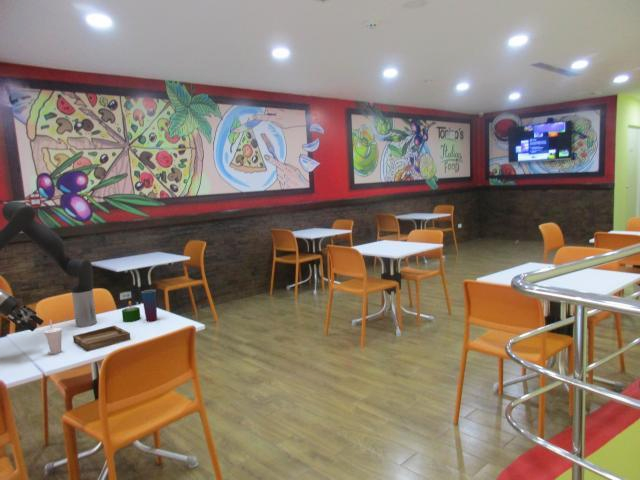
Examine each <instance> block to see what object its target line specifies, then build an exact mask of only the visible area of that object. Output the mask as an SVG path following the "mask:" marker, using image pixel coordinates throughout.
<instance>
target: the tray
mask: <svg viewBox="0 0 640 480" xmlns="http://www.w3.org/2000/svg"><path fill="white" fill-rule="evenodd" d="M72 338H73V339H72V340H73V343H74V344H76V345H77V346H78V347H80V348H81V349H83V350H84V351H86V352H91V351H94V350H98V349H102V348H104V347H108V346H112V345H115V344H119V343H123V342H126V341H129V340H132V339H131V332H129V331H127V330H125V329H122V328H121V327H120V326H117V325H112V326H111V325H110V326H106V327H103V328H98V329H95V330H90V331H87V332H83V333H79V334H74V335H72Z"/></svg>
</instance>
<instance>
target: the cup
mask: <svg viewBox="0 0 640 480" xmlns="http://www.w3.org/2000/svg"><path fill="white" fill-rule="evenodd" d="M141 298H142V303H143V310H144V315H145V321H146V322H147V323H151V322H156V321H157V320H158V312H157V311H158V310H157V309H158V308H157V290H156V289H145V290H143V291H141Z"/></svg>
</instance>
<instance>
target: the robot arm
mask: <svg viewBox="0 0 640 480" xmlns="http://www.w3.org/2000/svg"><path fill="white" fill-rule="evenodd" d="M1 215H2V217H3V218H4V220H6V221H7V223H6V225H5V226H4V227H2V228H1V229H0V252H1V251H2V250H3V249H4V248H5V247H6V246H7V245H8V244H10V242H11V241H12V240H13V239H15V237H17V236H19V234H20V233H21V232H22V233H23V234H25V236H26V237H27V238H28V239H29V240H30V241H31V242H32V243H34V244H35V246H37V247H38V248H39V249H40V250H41V251H42V252H43V253H44V254H45V255H47V256H48V257H49V258H50V259H51V260H52V261H53V262H55V263H56V264H57V266H59V268H60V269H61V270H62V271H63V272H64V273H65V274H66V275H67V277H70V278H75V279H77V278H78V282H77V283H76V284H74V285H71V297H72V304H73V311H74V319H75V326H76V327H77V328H85V327H90V326H93V325H95V324H97V314H96V308H95V307H96V305H95V299H94V298H95V297H94V292H93V289H94V288H93V286H94V274H93V273H94V270H93V265H92V262H91V261H90V259H87V258H74V257H72V256H70V255H69V254H68V253H67V252H66V244H65V242H64V240H63V239H62V238H61V237H60V236H59V235H58V234H57V233H56V232H54V230H52V229H51V228H50V227H47V226H46V225H44V224H42V223H41V222H39V221H38V220H36V218H35V217H36V211H35V209H34V207H33V206H31V205H28V204H27V203H26V204H25V203H23V202H19V201H9V202H6V203H4V205H3V206H2V208H1ZM20 304H21V301H20V300H19V299H17V298H16V297H14V296H13V295H11V294H10V293H8V292H7V291H5V290H3V289H1V288H0V314H1V315H2V316H3V317H7V319H8V320H9V321H11V322H12V323H13V324H15V325H16V326H17V327H25V328H26V329H28V330H29V331H31V332H34V331H36V329H37V326H36V325H34V324H33V323H31V322H30V321H28V319H29V320H31V321H33V322H34V323H36V324H37V325H38V326H41V325H42V324H43V323H44V321H45V320H43V318H40V317H38V315H37V311H36V310H33V309H32V308H30V307H28V306H27V305H26V304H24V305H23V306H20Z"/></svg>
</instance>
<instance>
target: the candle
mask: <svg viewBox="0 0 640 480" xmlns="http://www.w3.org/2000/svg"><path fill="white" fill-rule="evenodd" d="M121 315H122V321H123V323H133V322H138V321H140V320H141V318H142V317H141V310H140V307H136V306H135V305H132V301H131V300H129V301H128V306H126V307H125V308H123V309H122V310H121Z"/></svg>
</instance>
